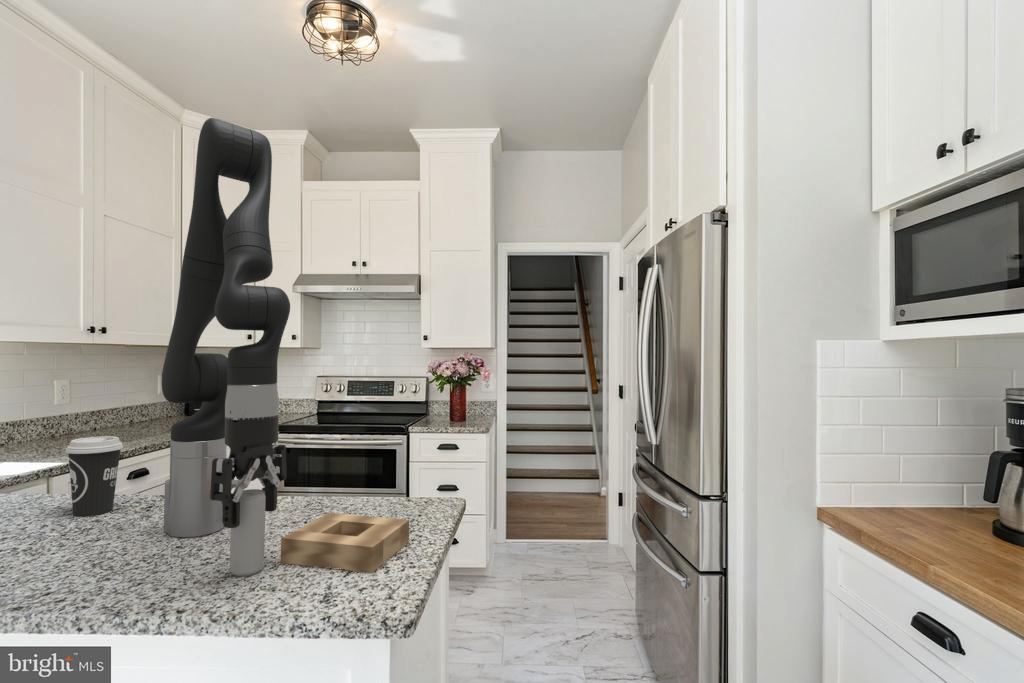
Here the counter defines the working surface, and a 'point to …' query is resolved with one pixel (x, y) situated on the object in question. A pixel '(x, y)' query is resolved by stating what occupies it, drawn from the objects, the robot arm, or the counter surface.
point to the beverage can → (249, 535)
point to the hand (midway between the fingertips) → (251, 518)
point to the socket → (345, 542)
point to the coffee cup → (93, 474)
